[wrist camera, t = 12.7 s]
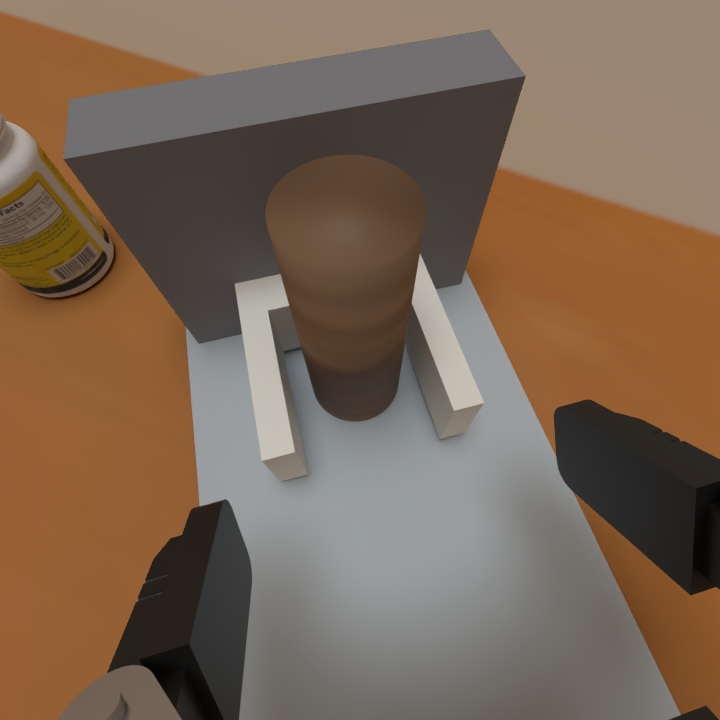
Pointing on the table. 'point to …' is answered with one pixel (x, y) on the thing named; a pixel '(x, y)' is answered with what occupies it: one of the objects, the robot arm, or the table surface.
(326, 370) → the dowel
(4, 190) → the supplement bottle
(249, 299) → the cradle
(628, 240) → the table surface
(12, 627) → the table surface
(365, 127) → the board with wall
